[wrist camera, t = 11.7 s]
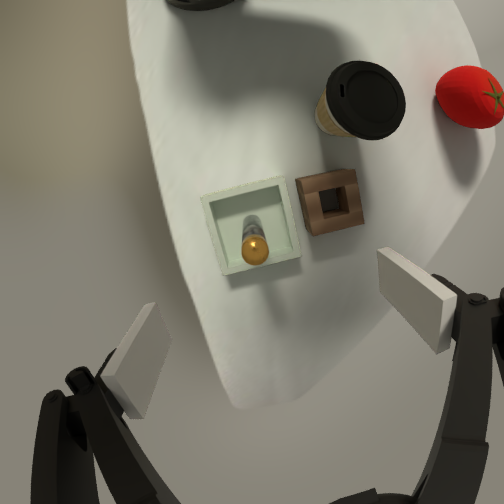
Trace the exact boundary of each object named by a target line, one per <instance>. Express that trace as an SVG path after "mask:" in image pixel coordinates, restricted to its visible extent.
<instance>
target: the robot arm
mask: <svg viewBox="0 0 504 504" xmlns="http://www.w3.org/2000/svg"><path fill="white" fill-rule="evenodd" d="M167 1H168V2H169V3H170V4H172V5H173V6H175V7H178V8H181V9H185V10H193V11H200V10H209V9H214V8H218V7H221V6H224V5H226V4H228V3H230V2H232V1H234V0H167ZM377 256H378V268H379V283H380V292H381V293H382V294H383V295H384V297H385V298H386V299H387V300H388V301H389V302H390V303H391V304H392V305H393V306H394V307H395V308H396V309H397V311H398V312H399V313H400V314H401V315H402V316H403V317H404V318H405V319H406V320H407V321H408V323H409V324H410V325H411V326H412V327H413V328H414V329H415V330H416V332H417V333H418V334H419V335H420V336H421V337H422V338H423V340H424V341H425V342H426V343H427V344H428V345H429V346H430V348H431V349H432V350H433V351H434V352H435V353H436V354H438V353H441V352H443V351H445V350H447V349H449V348H450V343H451V337H452V338H453V339H454V340H455V341H456V346H455V351H454V355H453V360H452V361H453V365H452V371H451V376H450V381H449V386H448V391H447V396H446V400H445V404H444V409H443V412H442V416H441V420H440V423H439V427H438V430H437V433H436V437H435V440H434V443H433V446H432V449H431V451H430V454H429V458H428V460H427V463H426V465H425V468H424V470H423V473H422V476H421V478H420V480H419V482H418V484H417V486H416V488H415V490H414V492H413V494H412V496H409V495H404V494H395V493H385V494H377V492H376V489H375V488H373V489H370V490H367V491H364V492H361V493H357V494H354V495H351V496H347V497H344V498H340V499H338V500H336V501H334V502H332V503H330V504H474V503H475V500H476V497H477V494H478V491H479V487H480V484H481V480H482V477H483V473H484V469H485V464H486V460H487V455H488V449H489V445H488V442H485V437H486V431H487V424H488V416H489V409H490V399H491V386H492V385H491V384H492V347H493V350H494V354H495V357H496V360H497V364H498V367H499V371H500V374H501V378H502V381H503V386H504V288H502V289H501V292H500V298H497V299H492V300H488V298H487V297H486V296H485V295H482V294H479V293H471V294H466V293H465V292H464V291H462V290H461V289H459V288H458V287H456V286H455V285H453V284H452V283H451V282H448V280H446V279H445V278H444V277H442V276H439V275H436V274H432V275H429V274H428V273H426V272H425V271H424V270H422V269H421V268H419V267H418V266H416V265H415V264H413V263H412V262H411V261H409V260H408V259H406V258H405V257H403V256H402V255H400V254H399V253H397V252H396V251H394V250H393V249H391V248H390V247H385V248H381V249H378V250H377ZM171 342H172V338H171V336H170V333H169V331H168V329H167V327H166V324H165V322H164V320H163V317H162V315H161V313H160V310H159V308H158V305H157V303H156V302H154V303H149V304H145V305H144V307H143V308H142V310H141V311H140V313H139V314H138V316H137V317H136V319H135V320H134V322H133V323H132V325H131V327H130V328H129V330H128V331H127V333H126V334H125V336H124V338H123V339H122V341H121V343H120V344H119V346H118V348H115V349H114V350H113V351H112V352H111V353H110V354H109V355H108V356H107V358H106V360H105V362H104V363H103V365H102V367H101V368H100V369H99V371H98V373H97V374H96V376H95V378H94V377H93V375H92V374H91V373H90V371H89V369H88V368H87V367H84V366H82V367H78V368H76V369H74V370H72V371H71V372H70V373H69V374H68V375H67V376H66V378H65V382H66V383H67V385H68V386H69V388H70V389H71V391H72V392H73V393H74V395H72V396H68V397H66V396H65V395H64V394H63V392H62V391H61V390H53V391H50V392H49V393H47V394H46V396H45V397H44V399H43V401H42V405H41V410H40V415H39V421H38V427H37V433H36V439H35V447H34V455H33V465H32V477H31V504H100V503H99V498H98V491H97V484H96V476H95V467H94V457H93V453H94V456H95V458H96V461H97V463H98V465H99V468H100V470H101V472H102V475H103V477H104V479H105V481H106V484H107V486H108V488H109V490H110V492H111V494H112V496H113V498H114V500H115V502H116V504H181V503H180V502H179V501H178V499H177V498H176V497H175V496H174V494H173V493H172V492H171V491H170V489H169V488H168V487H167V485H166V484H165V483H164V481H163V480H162V478H161V477H160V476H159V474H158V473H157V472H156V470H155V469H154V467H153V466H152V464H151V463H150V461H149V460H148V458H147V457H146V455H145V454H144V452H143V451H142V449H141V447H140V446H139V444H138V443H137V441H136V439H135V438H134V436H133V434H132V433H131V431H130V429H129V428H128V426H127V424H126V422H125V421H124V419H123V418H122V414H123V412H125V413H126V414H127V416H128V417H129V418H130V419H144V417H145V414H146V411H147V408H148V405H149V403H150V400H151V397H152V394H153V391H154V388H155V386H156V383H157V380H158V377H159V374H160V372H161V369H162V366H163V364H164V361H165V358H166V355H167V353H168V350H169V348H170V345H171Z"/></svg>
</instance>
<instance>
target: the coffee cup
mask: <svg viewBox="0 0 504 504" xmlns="http://www.w3.org/2000/svg"><path fill="white" fill-rule="evenodd" d="M405 108H406V102H405V96H404V93H403V90H402V88H401V86H400V84H399V82H398V81H397V79H396V78H395V77H394V76H393V75H392V74H391V73H390V72H389V71H388V70H386V69H385V68H383V67H382V66H380V65H378V64H375V63H372V62H366V61H350V62H347V63H344V64H342V65H340V66H339V67H337V68H336V69H335V70H334V71H333V72H332V73H331V75H330V77H329V78H328V81H327V85H326V88H325V90H324V92H323V94H322V95H321V97H320V99H319V101H318V104H317V107H316V109H315V114H314V115H315V121H316V123H317V125H318V126H319V128H320V129H321V130H322V131H324V132H325V133H327V134H329V135H337V136H342V137H358V138H361V139H365V140H380V139H383V138H385V137H388V136H389V135H391V134H392V133H393V132H395V130H396V129H397V128H398V127H399V125H400V123H401V121H402V119H403V117H404V114H405Z"/></svg>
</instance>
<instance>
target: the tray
mask: <svg viewBox="0 0 504 504" xmlns="http://www.w3.org/2000/svg"><path fill="white" fill-rule="evenodd" d="M200 199H201V203H202V206H203V210H204V213H205V217H206V220H207V224H208V227H209V231H210V234H211V237H212V241H213V244H214V248H215V251H216V254H217V258H218V261H219V264H220V268H221V271H222V274H223V276H224V275H228V274H232V273H236V272H241V271H245V270H249V269H253V268H257V267H261V266H265V265H269V264H273V263H277V262H281V261H286V260H290V259H294V258H298V257H302V255H301V251H300V246H299V241H298V236H297V232H296V227H295V222H294V218H293V213H292V209H291V205H290V200H289V196H288V192H287V187H286V183H285V179H284V176H276V177H272V178H268V179H264V180H259V181H255V182H251V183H247V184H243V185H239V186H236V187H232V188H228V189H224V190H220V191H217V192H213V193H210V194H206V195H203V196H202V197H200ZM251 214H253V215H256V216H258V217H259V218H260V220H261V223H262V227H263V230H264V234H265V237H266V241H267V245H268V248H269V256H268V258H267V260H266V261H265V262H264V263H262V264H260V265H250V264H248V263H246V262H245V261H244V259H243V258H242V254H241V249H242V229H243V220H244V218H245V217H246V216H248V215H251Z"/></svg>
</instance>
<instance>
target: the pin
mask: <svg viewBox="0 0 504 504" xmlns="http://www.w3.org/2000/svg"><path fill="white" fill-rule="evenodd" d="M241 254H242V258H243V259H244V261H245V262H246V263H248V264H250V265H260V264H262V263H264V262H265V261H266V260H267V258H268V256H269V248H268V245H267V241H266V237H265V234H264V230H263V227H262V223H261V220H260V218H259V217H258V216H256V215H253V214H251V215H248V216H246V217H245V218H244V220H243V229H242V249H241Z"/></svg>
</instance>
